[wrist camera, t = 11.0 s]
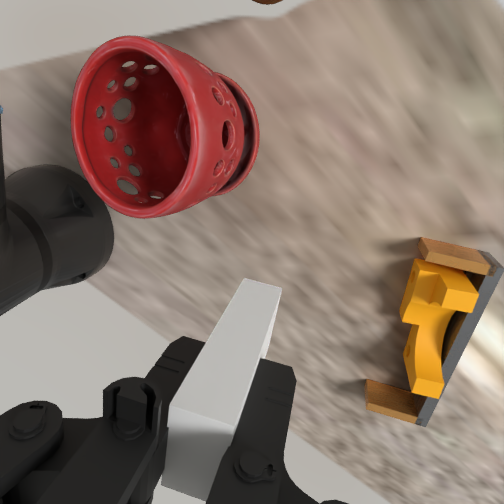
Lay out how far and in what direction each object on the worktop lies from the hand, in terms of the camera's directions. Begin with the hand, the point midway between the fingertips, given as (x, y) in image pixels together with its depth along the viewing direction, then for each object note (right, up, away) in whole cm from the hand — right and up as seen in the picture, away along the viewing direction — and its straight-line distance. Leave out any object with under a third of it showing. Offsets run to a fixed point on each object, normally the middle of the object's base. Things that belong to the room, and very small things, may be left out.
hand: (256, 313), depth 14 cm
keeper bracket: (+19, -6, +27) cm, 34 cm away
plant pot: (-4, +15, +23) cm, 28 cm away
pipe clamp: (+19, -4, +27) cm, 33 cm away
